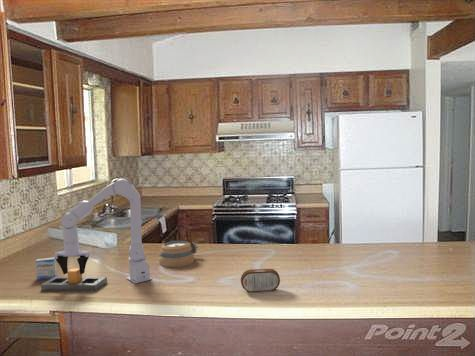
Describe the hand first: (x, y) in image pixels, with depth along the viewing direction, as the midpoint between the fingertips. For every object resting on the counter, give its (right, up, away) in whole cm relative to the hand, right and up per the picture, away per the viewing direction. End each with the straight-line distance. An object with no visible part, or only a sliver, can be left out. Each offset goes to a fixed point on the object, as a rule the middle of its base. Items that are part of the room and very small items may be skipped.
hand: (73, 273), depth 171 cm
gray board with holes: (0, -6, 0) cm, 6 cm away
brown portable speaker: (+77, -4, -14) cm, 79 cm away
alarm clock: (+40, -1, +33) cm, 51 cm away
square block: (0, -6, +1) cm, 6 cm away
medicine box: (-18, -5, +14) cm, 24 cm away
